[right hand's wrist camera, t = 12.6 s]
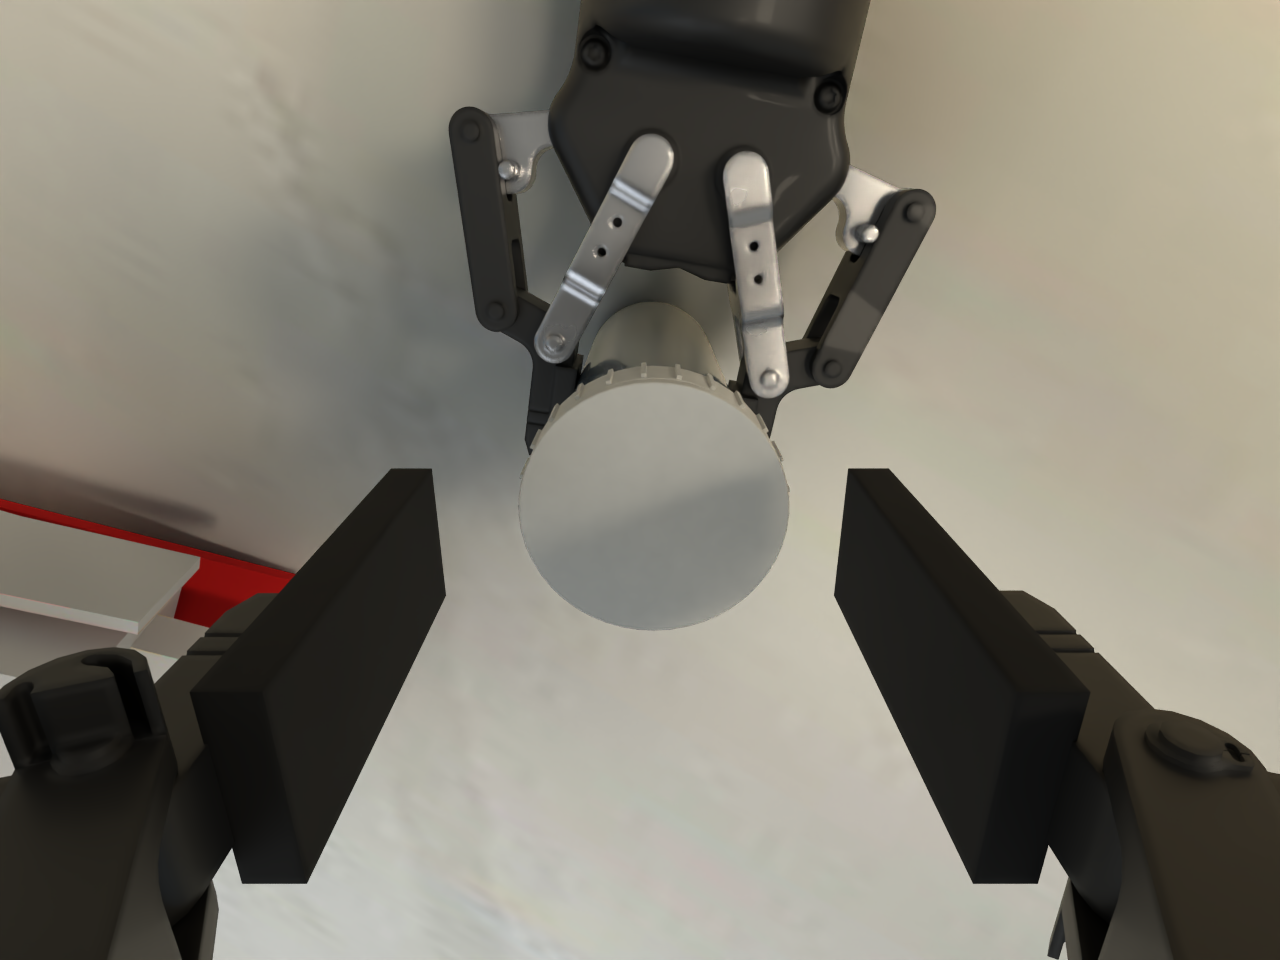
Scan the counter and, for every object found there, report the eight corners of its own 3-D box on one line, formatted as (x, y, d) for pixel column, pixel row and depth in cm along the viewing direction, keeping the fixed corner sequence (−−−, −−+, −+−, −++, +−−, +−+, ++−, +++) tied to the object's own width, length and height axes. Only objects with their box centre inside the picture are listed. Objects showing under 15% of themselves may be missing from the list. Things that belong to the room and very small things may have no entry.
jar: (705, 292, 28) (758, 380, 15) (718, 413, 30) (776, 592, 16) (580, 310, 29) (518, 412, 15) (600, 429, 30) (561, 617, 17)
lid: (770, 343, 16) (783, 359, 14) (788, 582, 18) (801, 618, 16) (503, 380, 16) (488, 399, 14) (552, 610, 18) (543, 647, 17)
